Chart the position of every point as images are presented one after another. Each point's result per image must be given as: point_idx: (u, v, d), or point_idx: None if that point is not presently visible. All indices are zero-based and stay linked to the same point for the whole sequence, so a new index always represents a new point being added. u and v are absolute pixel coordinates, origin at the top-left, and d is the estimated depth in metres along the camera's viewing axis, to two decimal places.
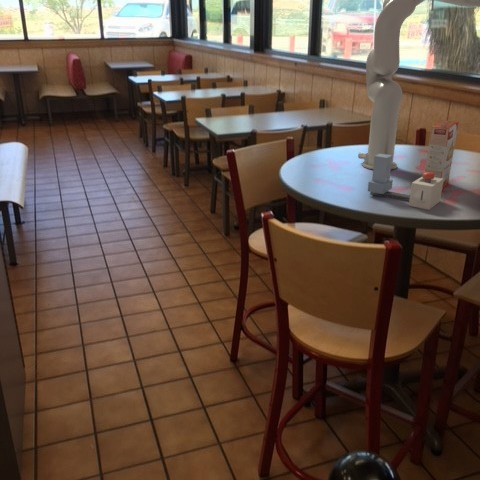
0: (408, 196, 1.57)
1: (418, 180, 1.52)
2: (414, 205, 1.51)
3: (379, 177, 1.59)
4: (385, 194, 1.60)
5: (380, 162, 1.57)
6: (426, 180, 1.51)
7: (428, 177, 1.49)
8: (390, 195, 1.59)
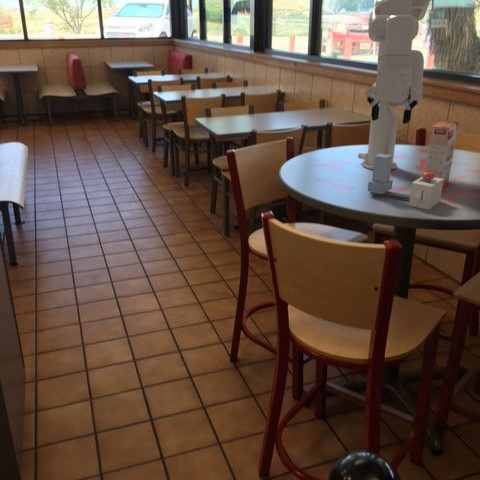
0: (408, 196, 1.57)
1: (418, 180, 1.52)
2: (414, 205, 1.51)
3: (379, 177, 1.59)
4: (385, 194, 1.60)
5: (380, 162, 1.57)
6: (426, 180, 1.51)
7: (428, 177, 1.49)
8: (390, 195, 1.59)
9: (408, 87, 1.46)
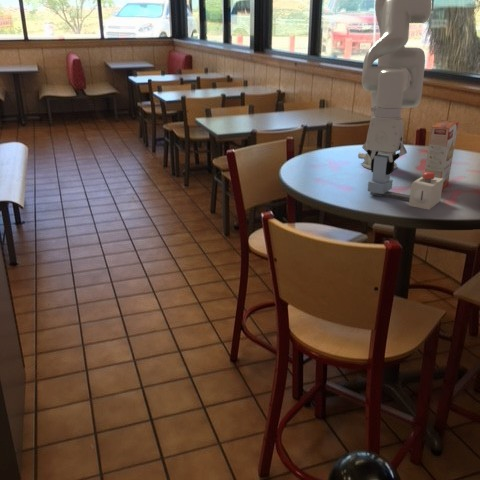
0: (408, 196, 1.57)
1: (418, 180, 1.52)
2: (414, 205, 1.51)
3: (379, 177, 1.59)
4: (385, 194, 1.60)
5: (380, 162, 1.57)
6: (426, 180, 1.51)
7: (428, 177, 1.49)
8: (390, 195, 1.59)
9: (399, 138, 1.51)
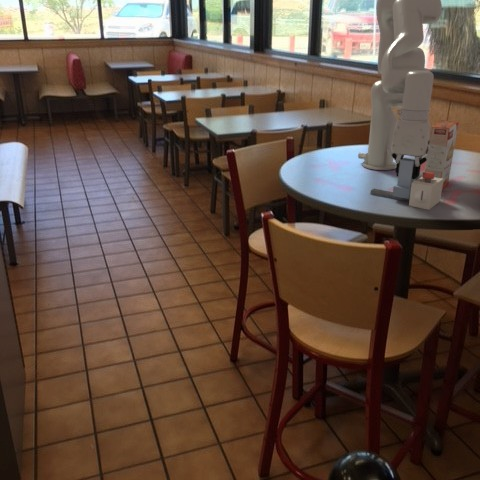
0: None
1: (418, 180, 1.52)
2: (414, 205, 1.51)
3: (404, 182, 1.54)
4: (385, 194, 1.60)
5: (406, 166, 1.52)
6: (426, 180, 1.51)
7: (428, 177, 1.49)
8: (390, 195, 1.59)
9: (426, 142, 1.47)
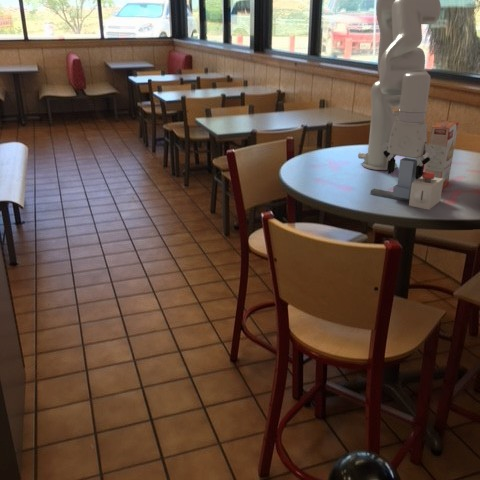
0: None
1: (418, 180, 1.52)
2: (414, 205, 1.51)
3: (404, 182, 1.54)
4: (385, 194, 1.60)
5: (406, 166, 1.52)
6: (426, 180, 1.51)
7: (428, 177, 1.49)
8: (390, 195, 1.59)
9: (423, 143, 1.47)
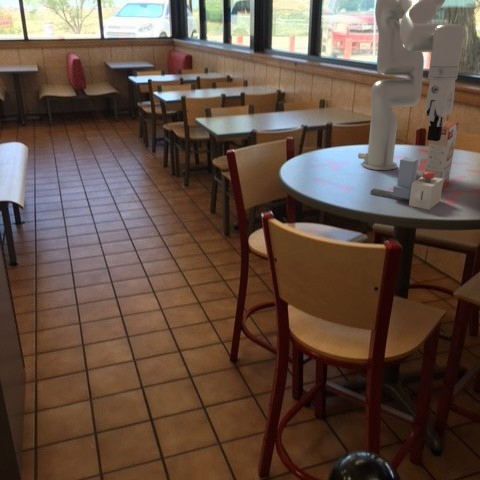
0: None
1: (418, 180, 1.52)
2: (414, 205, 1.51)
3: (404, 182, 1.54)
4: (385, 194, 1.60)
5: (406, 166, 1.52)
6: (426, 180, 1.51)
7: (428, 177, 1.49)
8: (390, 195, 1.59)
9: None
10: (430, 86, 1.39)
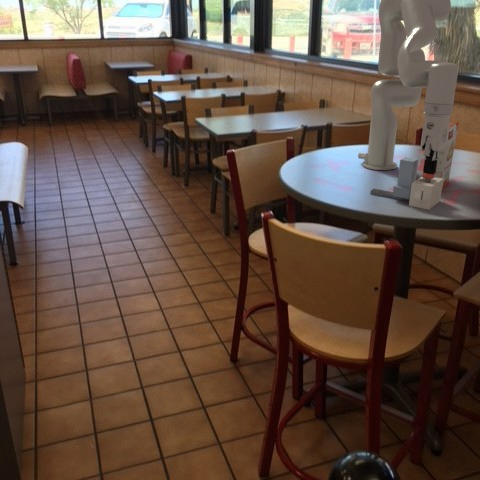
0: None
1: (418, 180, 1.52)
2: (414, 205, 1.51)
3: (404, 182, 1.54)
4: (385, 194, 1.60)
5: (406, 166, 1.52)
6: (426, 180, 1.51)
7: (428, 177, 1.49)
8: (390, 195, 1.59)
9: None
10: (425, 122, 1.42)
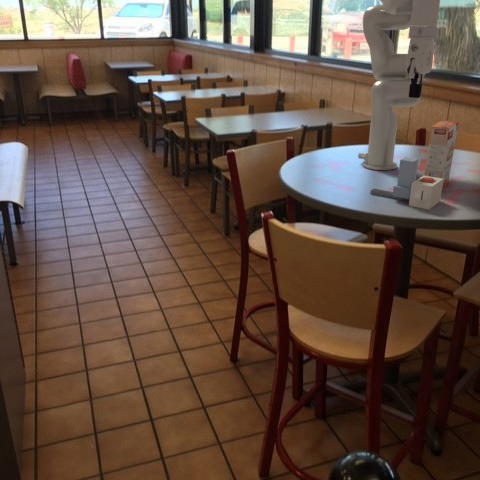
0: None
1: (418, 180, 1.52)
2: (414, 205, 1.51)
3: (404, 182, 1.54)
4: (385, 194, 1.60)
5: (406, 166, 1.52)
6: None
7: None
8: (390, 195, 1.59)
9: None
10: (410, 45, 1.49)
